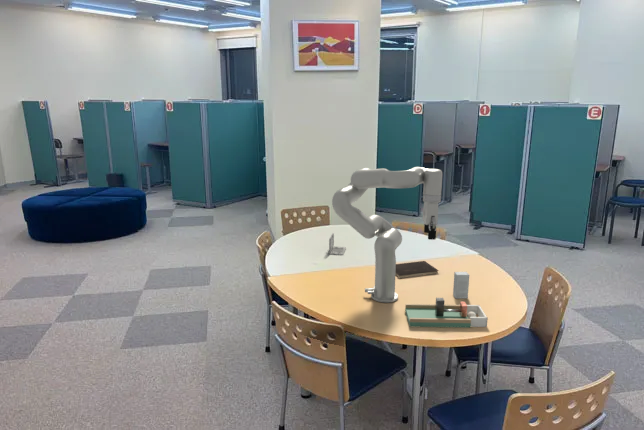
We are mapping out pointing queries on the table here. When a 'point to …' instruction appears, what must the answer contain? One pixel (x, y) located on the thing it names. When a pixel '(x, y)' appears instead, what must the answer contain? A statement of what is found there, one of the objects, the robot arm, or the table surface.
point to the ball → (471, 314)
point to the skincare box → (461, 285)
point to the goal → (477, 321)
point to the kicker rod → (440, 309)
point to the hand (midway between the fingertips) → (429, 235)
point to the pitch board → (434, 316)
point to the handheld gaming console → (333, 249)
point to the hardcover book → (414, 269)
